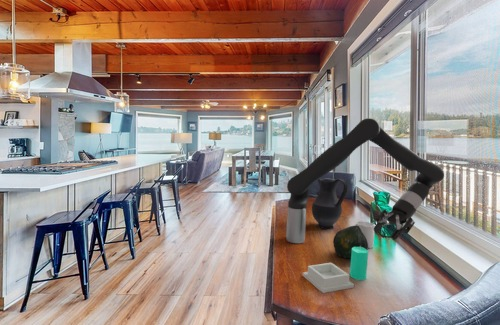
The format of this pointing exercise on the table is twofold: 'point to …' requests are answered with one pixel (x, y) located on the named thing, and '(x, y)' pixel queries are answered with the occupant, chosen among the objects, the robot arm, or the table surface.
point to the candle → (358, 263)
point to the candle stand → (328, 277)
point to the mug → (367, 231)
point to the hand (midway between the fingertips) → (383, 234)
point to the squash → (349, 241)
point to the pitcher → (328, 203)
